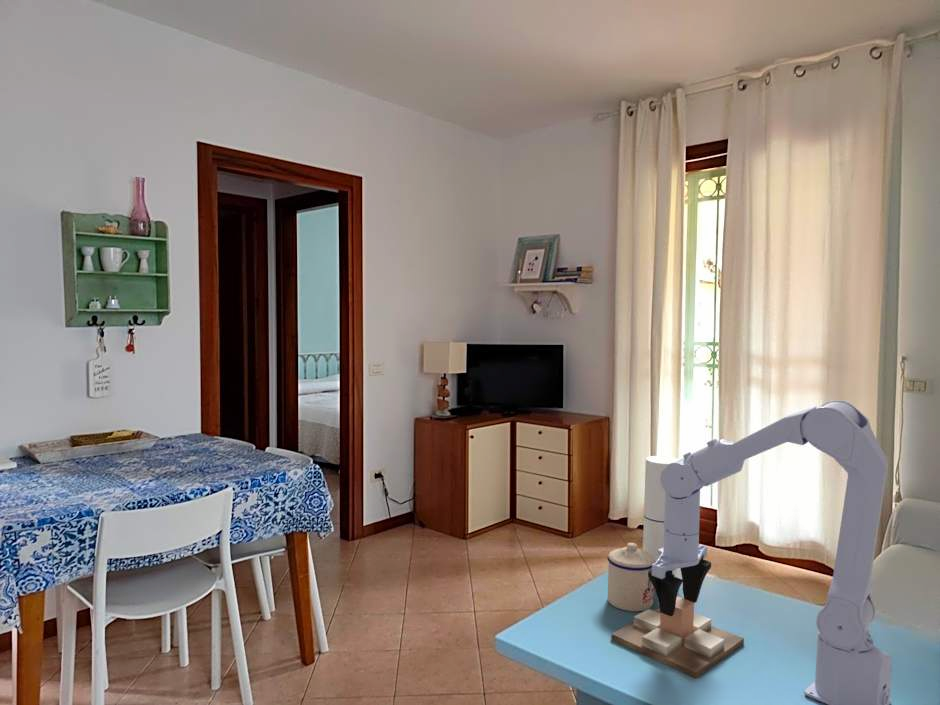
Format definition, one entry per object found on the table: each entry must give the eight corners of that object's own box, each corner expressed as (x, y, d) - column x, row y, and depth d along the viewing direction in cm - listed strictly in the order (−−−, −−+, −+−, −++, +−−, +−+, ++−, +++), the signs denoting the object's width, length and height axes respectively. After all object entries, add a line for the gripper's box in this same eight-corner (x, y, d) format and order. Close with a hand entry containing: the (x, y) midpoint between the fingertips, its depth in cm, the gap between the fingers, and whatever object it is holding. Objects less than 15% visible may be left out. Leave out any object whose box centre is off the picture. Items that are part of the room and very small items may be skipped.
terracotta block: (692, 636, 117) (694, 602, 116) (680, 643, 114) (682, 609, 114) (672, 627, 120) (673, 594, 119) (659, 635, 117) (661, 601, 117)
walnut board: (743, 643, 116) (744, 629, 116) (695, 678, 106) (696, 663, 105) (661, 611, 128) (662, 598, 128) (611, 639, 117) (611, 625, 117)
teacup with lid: (653, 616, 126) (655, 555, 125) (604, 609, 129) (605, 549, 128) (655, 589, 138) (657, 533, 137) (609, 583, 140) (611, 529, 139)
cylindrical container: (641, 578, 143) (645, 462, 141) (642, 565, 150) (646, 454, 148) (676, 582, 141) (680, 465, 139) (676, 569, 148) (680, 457, 146)
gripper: (682, 515, 123) (680, 587, 124) (636, 533, 113) (634, 611, 114) (719, 525, 118) (716, 600, 119) (674, 545, 108) (672, 626, 109)
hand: (678, 607), depth 116 cm, fingers open, 7 cm apart
